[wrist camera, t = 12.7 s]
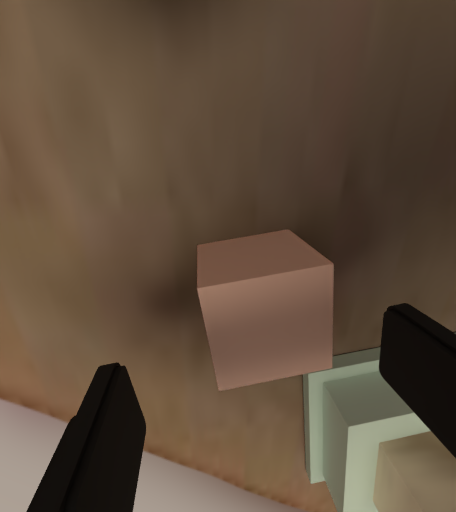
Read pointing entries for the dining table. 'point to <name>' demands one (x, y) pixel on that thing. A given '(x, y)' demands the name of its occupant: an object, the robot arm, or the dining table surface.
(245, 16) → the dining table surface
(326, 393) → the sage plinth
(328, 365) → the terracotta block
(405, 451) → the beech block
